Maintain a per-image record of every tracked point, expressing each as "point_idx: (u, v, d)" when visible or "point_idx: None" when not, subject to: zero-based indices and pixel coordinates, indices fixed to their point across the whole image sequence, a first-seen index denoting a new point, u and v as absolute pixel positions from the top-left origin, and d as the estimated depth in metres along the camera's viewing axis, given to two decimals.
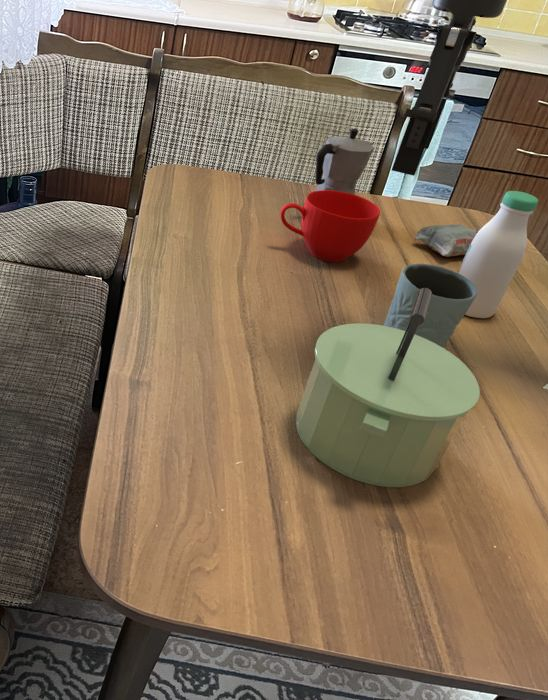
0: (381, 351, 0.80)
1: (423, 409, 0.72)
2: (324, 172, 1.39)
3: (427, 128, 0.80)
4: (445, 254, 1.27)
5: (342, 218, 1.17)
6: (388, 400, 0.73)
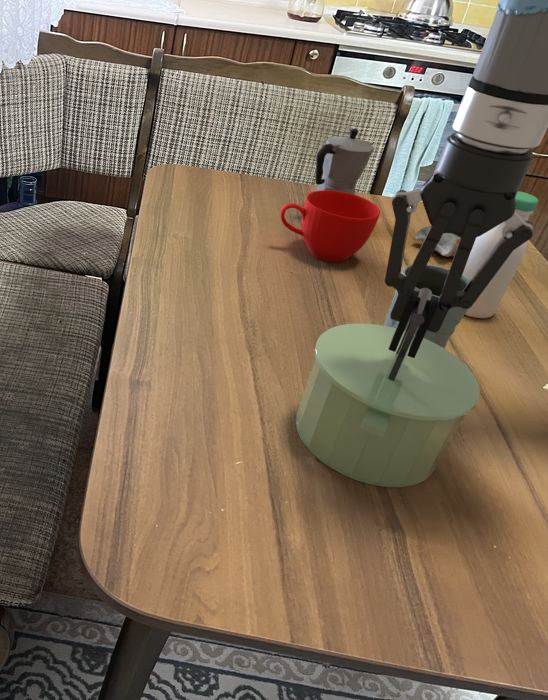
0: (381, 351, 0.80)
1: (423, 409, 0.72)
2: (324, 172, 1.39)
3: None
4: (445, 254, 1.27)
5: (342, 218, 1.17)
6: (388, 400, 0.73)
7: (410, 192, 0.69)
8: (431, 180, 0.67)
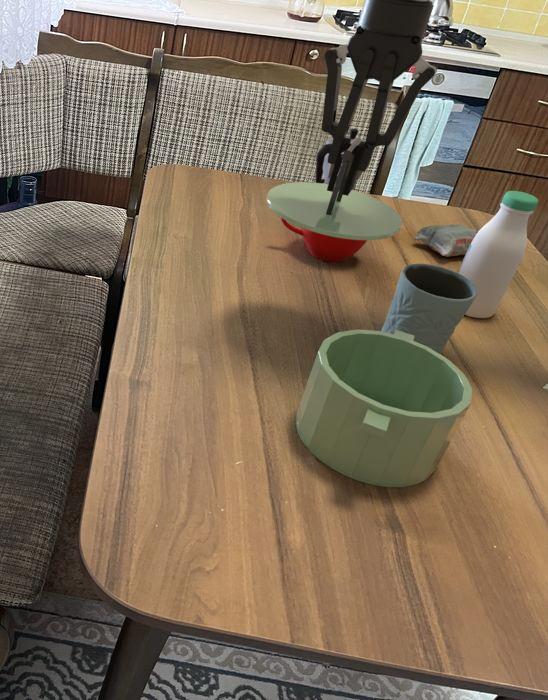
0: (323, 198, 0.95)
1: (352, 231, 0.87)
2: (324, 172, 1.39)
3: None
4: (445, 254, 1.27)
5: None
6: (323, 225, 0.87)
7: (339, 47, 0.84)
8: (355, 33, 0.82)
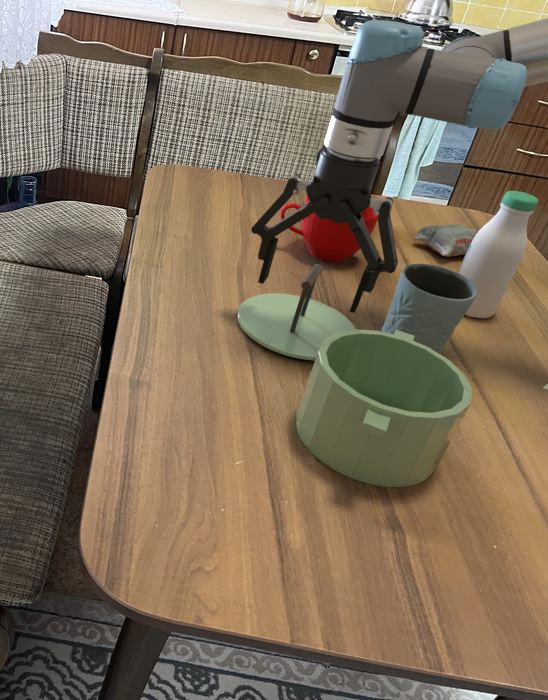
0: (288, 313, 1.06)
1: (311, 352, 0.97)
2: None
3: None
4: (445, 254, 1.27)
5: None
6: (286, 346, 0.98)
7: (302, 180, 0.93)
8: (312, 181, 0.92)
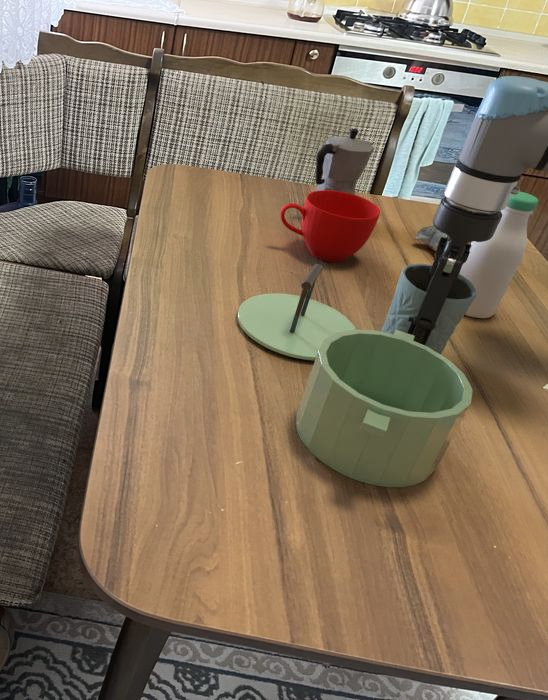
0: (288, 313, 1.06)
1: (311, 352, 0.97)
2: (324, 172, 1.39)
3: None
4: None
5: (342, 218, 1.17)
6: (286, 346, 0.98)
7: (453, 256, 0.88)
8: (463, 247, 0.89)
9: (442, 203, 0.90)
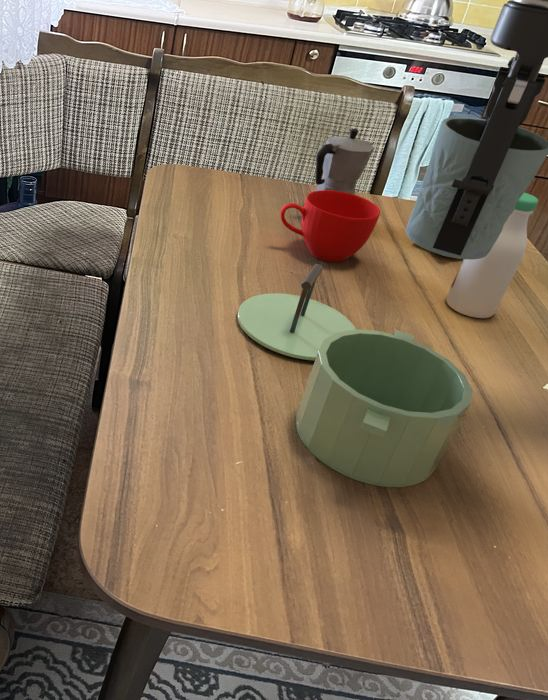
0: (288, 313, 1.06)
1: (311, 352, 0.97)
2: (324, 172, 1.39)
3: None
4: None
5: (342, 218, 1.17)
6: (286, 346, 0.98)
7: (523, 78, 0.60)
8: (538, 66, 0.60)
9: (507, 5, 0.62)
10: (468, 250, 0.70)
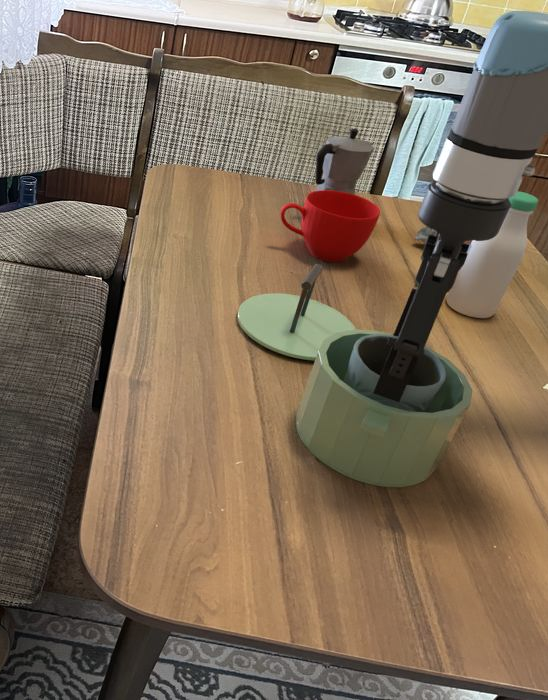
0: (288, 313, 1.06)
1: (311, 352, 0.97)
2: (324, 172, 1.39)
3: None
4: None
5: (342, 218, 1.17)
6: (286, 346, 0.98)
7: (447, 255, 0.65)
8: (458, 247, 0.66)
9: (430, 189, 0.67)
10: None
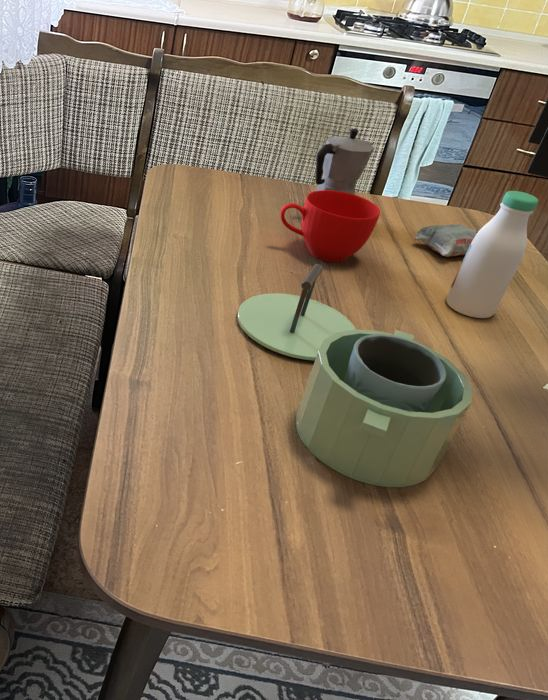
0: (288, 313, 1.06)
1: (311, 352, 0.97)
2: (324, 172, 1.39)
3: None
4: (445, 254, 1.27)
5: (342, 218, 1.17)
6: (286, 346, 0.98)
7: None
8: None
9: None
10: None
